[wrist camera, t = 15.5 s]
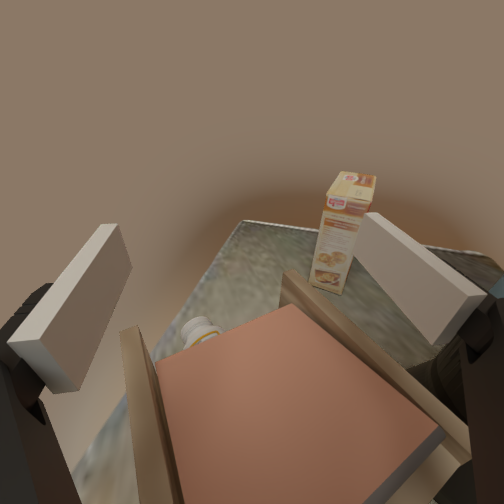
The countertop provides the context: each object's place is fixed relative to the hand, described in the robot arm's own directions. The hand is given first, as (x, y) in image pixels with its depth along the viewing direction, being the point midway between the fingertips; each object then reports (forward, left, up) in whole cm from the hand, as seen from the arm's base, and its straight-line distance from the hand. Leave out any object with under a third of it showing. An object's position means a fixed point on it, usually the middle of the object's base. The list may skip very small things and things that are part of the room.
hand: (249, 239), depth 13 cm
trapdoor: (-1, +3, -13) cm, 13 cm away
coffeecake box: (-31, -18, -26) cm, 44 cm away
